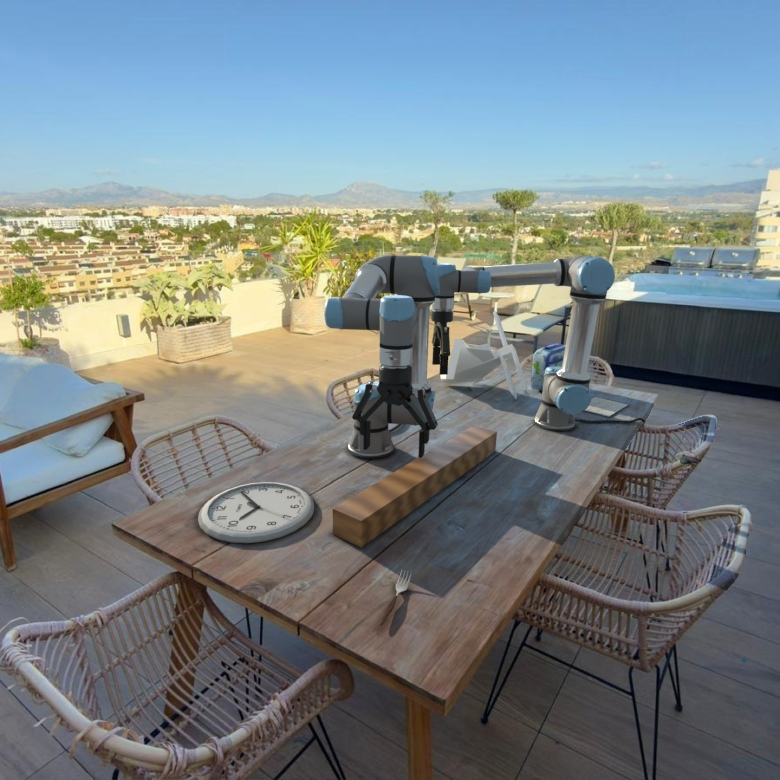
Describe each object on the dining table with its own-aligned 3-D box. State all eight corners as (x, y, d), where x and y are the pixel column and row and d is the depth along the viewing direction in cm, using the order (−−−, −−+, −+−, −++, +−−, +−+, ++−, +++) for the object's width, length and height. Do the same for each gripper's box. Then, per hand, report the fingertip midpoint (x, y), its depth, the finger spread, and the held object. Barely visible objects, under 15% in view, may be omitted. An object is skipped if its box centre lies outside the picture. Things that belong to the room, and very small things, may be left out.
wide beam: (471, 444, 185) (473, 425, 182) (495, 451, 179) (497, 431, 177) (332, 534, 129) (332, 508, 127) (361, 547, 124) (361, 521, 122)
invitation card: (608, 416, 214) (573, 407, 224) (608, 416, 214) (573, 408, 224) (628, 404, 229) (594, 396, 238) (628, 405, 229) (594, 397, 238)
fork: (373, 626, 100) (374, 617, 99) (401, 576, 114) (401, 568, 113) (386, 630, 99) (386, 621, 98) (412, 579, 113) (412, 571, 112)
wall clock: (310, 535, 126) (182, 539, 123) (311, 541, 126) (183, 545, 124) (317, 477, 154) (212, 480, 152) (317, 482, 155) (213, 485, 152)
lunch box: (547, 395, 239) (552, 351, 233) (526, 390, 247) (530, 347, 240) (574, 384, 257) (579, 343, 251) (554, 380, 264) (558, 339, 258)
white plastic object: (461, 429, 252) (437, 405, 227) (444, 352, 274) (420, 323, 250) (535, 404, 240) (518, 377, 215) (510, 326, 262) (492, 293, 237)
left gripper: (338, 363, 118) (339, 450, 125) (446, 374, 111) (441, 465, 117) (350, 356, 125) (350, 439, 131) (453, 366, 118) (448, 452, 124)
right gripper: (425, 304, 191) (423, 360, 198) (438, 315, 168) (435, 379, 174) (445, 304, 192) (442, 360, 199) (461, 315, 169) (457, 378, 175)
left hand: (393, 451), depth 124 cm, fingers open, 13 cm apart
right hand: (439, 369), depth 186 cm, fingers open, 13 cm apart
